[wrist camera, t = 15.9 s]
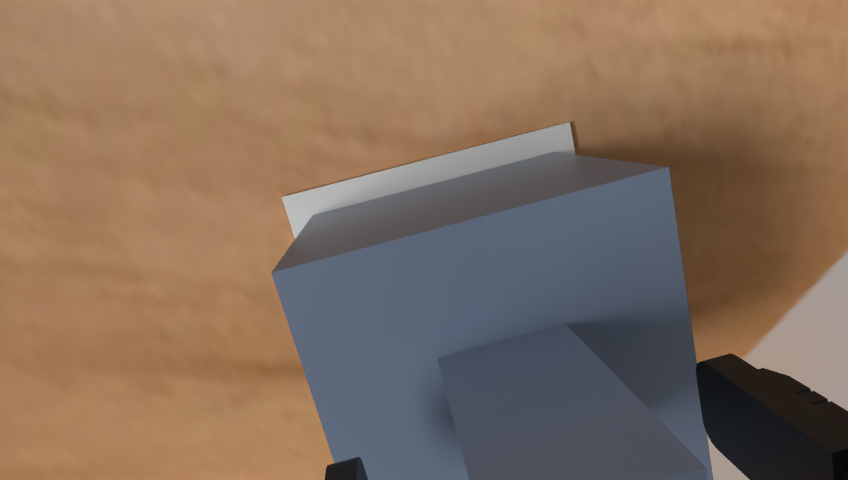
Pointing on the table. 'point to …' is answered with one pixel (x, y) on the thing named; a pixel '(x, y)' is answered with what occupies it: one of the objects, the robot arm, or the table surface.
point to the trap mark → (425, 173)
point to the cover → (503, 327)
